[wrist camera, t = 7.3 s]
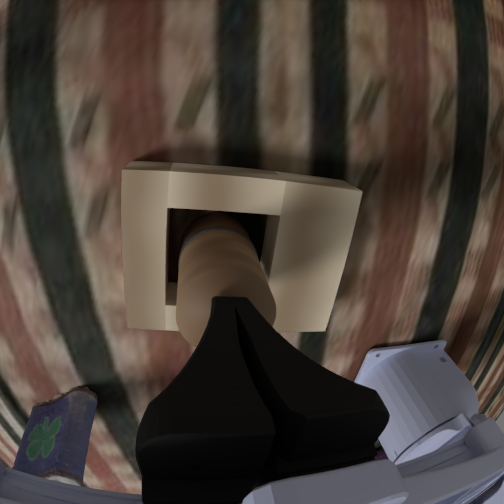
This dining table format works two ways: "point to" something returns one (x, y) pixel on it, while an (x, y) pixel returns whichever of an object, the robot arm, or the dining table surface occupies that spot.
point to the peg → (217, 272)
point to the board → (247, 201)
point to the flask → (58, 437)
